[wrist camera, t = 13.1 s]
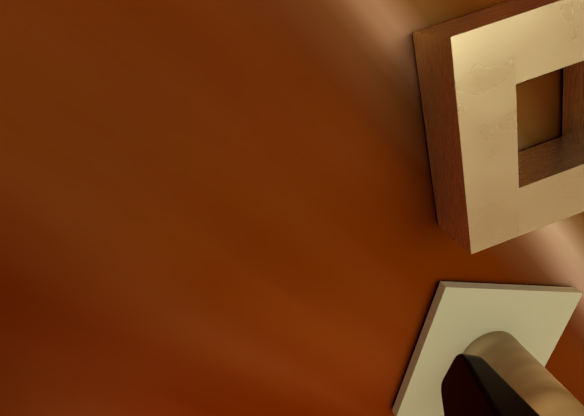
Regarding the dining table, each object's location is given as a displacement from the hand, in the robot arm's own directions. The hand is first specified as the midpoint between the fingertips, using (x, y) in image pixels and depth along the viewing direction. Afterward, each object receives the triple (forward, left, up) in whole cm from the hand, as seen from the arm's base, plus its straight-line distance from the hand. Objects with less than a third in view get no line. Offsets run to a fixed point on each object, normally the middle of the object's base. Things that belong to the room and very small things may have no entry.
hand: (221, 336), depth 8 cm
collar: (+14, -8, -12) cm, 20 cm away
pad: (+6, -21, -12) cm, 25 cm away
